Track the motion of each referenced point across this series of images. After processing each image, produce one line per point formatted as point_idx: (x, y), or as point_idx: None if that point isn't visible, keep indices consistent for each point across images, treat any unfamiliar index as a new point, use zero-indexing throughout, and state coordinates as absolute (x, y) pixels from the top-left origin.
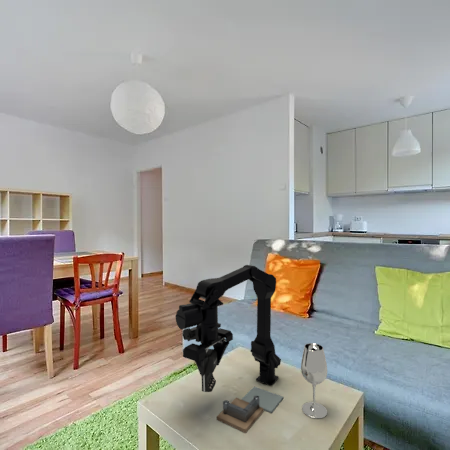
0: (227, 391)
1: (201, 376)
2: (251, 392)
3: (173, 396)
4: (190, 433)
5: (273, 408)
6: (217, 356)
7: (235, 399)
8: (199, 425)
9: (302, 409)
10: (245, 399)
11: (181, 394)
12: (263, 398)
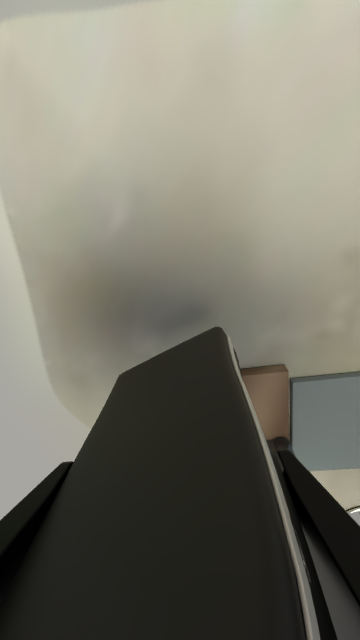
0: (319, 301)
1: (84, 442)
2: (356, 386)
3: (121, 120)
4: (61, 360)
5: (309, 469)
6: (320, 577)
7: (276, 375)
8: (102, 356)
9: (351, 512)
10: (302, 393)
11: (162, 141)
12: (342, 431)
